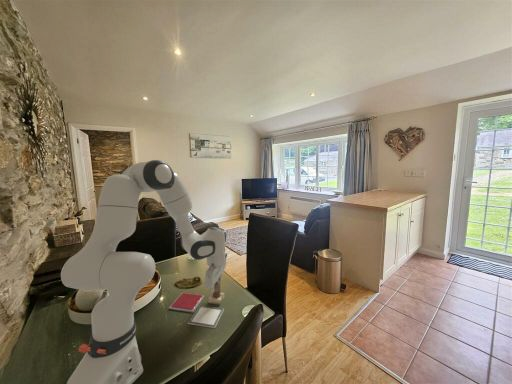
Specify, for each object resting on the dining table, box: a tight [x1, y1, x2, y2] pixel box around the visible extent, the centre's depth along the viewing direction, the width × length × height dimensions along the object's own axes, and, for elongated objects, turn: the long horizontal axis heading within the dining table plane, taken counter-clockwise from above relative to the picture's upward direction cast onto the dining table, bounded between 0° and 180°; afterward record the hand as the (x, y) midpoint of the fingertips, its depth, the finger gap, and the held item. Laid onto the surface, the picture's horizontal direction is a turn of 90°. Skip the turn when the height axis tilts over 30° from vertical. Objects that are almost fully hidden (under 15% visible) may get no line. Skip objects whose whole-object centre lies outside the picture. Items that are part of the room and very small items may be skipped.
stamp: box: [208, 281, 225, 305], centre depth 106 cm, size 6×6×9 cm
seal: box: [174, 276, 203, 289], centre depth 121 cm, size 9×5×15 cm
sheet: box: [187, 304, 225, 329], centre depth 95 cm, size 12×12×1 cm
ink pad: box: [168, 292, 205, 313], centre depth 104 cm, size 12×12×1 cm
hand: (216, 285), depth 106 cm, fingers open, 8 cm apart
